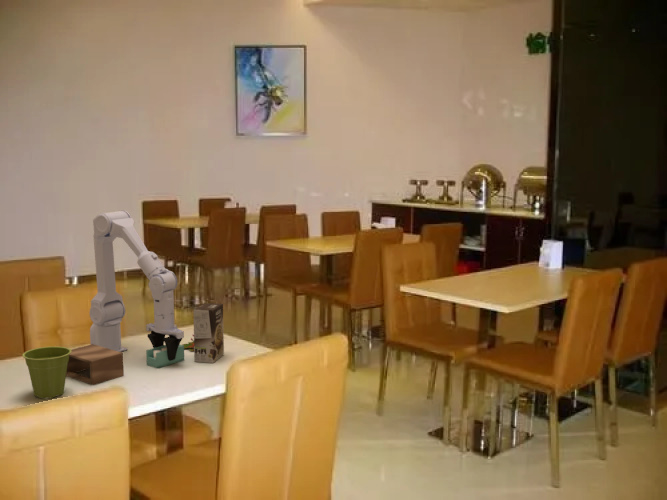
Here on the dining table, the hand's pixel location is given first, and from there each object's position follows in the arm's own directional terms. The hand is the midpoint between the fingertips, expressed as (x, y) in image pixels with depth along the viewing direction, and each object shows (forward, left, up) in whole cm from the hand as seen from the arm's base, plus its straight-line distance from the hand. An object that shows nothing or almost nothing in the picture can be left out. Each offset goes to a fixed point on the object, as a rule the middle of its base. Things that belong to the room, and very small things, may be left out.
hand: (165, 358), depth 219 cm
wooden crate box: (-7, -20, -1) cm, 21 cm away
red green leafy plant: (-5, +17, -2) cm, 18 cm away
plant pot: (-3, -36, -2) cm, 36 cm away
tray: (0, 0, -1) cm, 1 cm away
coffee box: (+7, +11, -2) cm, 13 cm away
